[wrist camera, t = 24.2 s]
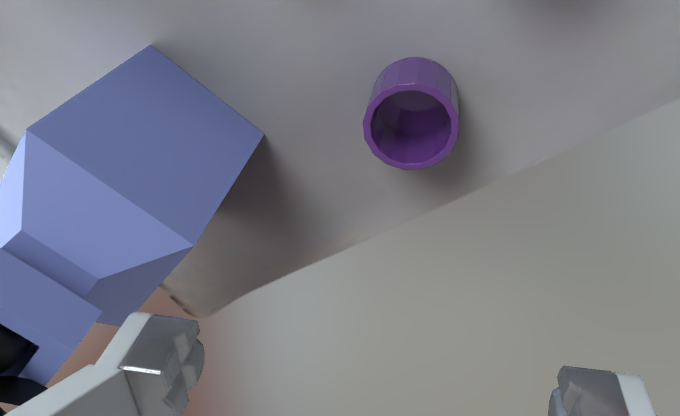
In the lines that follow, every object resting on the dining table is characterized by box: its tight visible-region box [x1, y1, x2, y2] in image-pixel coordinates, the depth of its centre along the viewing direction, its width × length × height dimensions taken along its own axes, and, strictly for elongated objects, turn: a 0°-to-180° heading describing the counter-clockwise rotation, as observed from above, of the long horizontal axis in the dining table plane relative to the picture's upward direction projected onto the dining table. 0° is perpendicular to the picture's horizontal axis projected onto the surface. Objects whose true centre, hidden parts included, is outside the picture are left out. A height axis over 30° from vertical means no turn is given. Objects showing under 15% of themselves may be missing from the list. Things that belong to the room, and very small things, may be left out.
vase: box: [0, 45, 264, 416], centre depth 30 cm, size 14×12×35 cm
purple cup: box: [363, 57, 459, 170], centre depth 37 cm, size 6×6×5 cm
